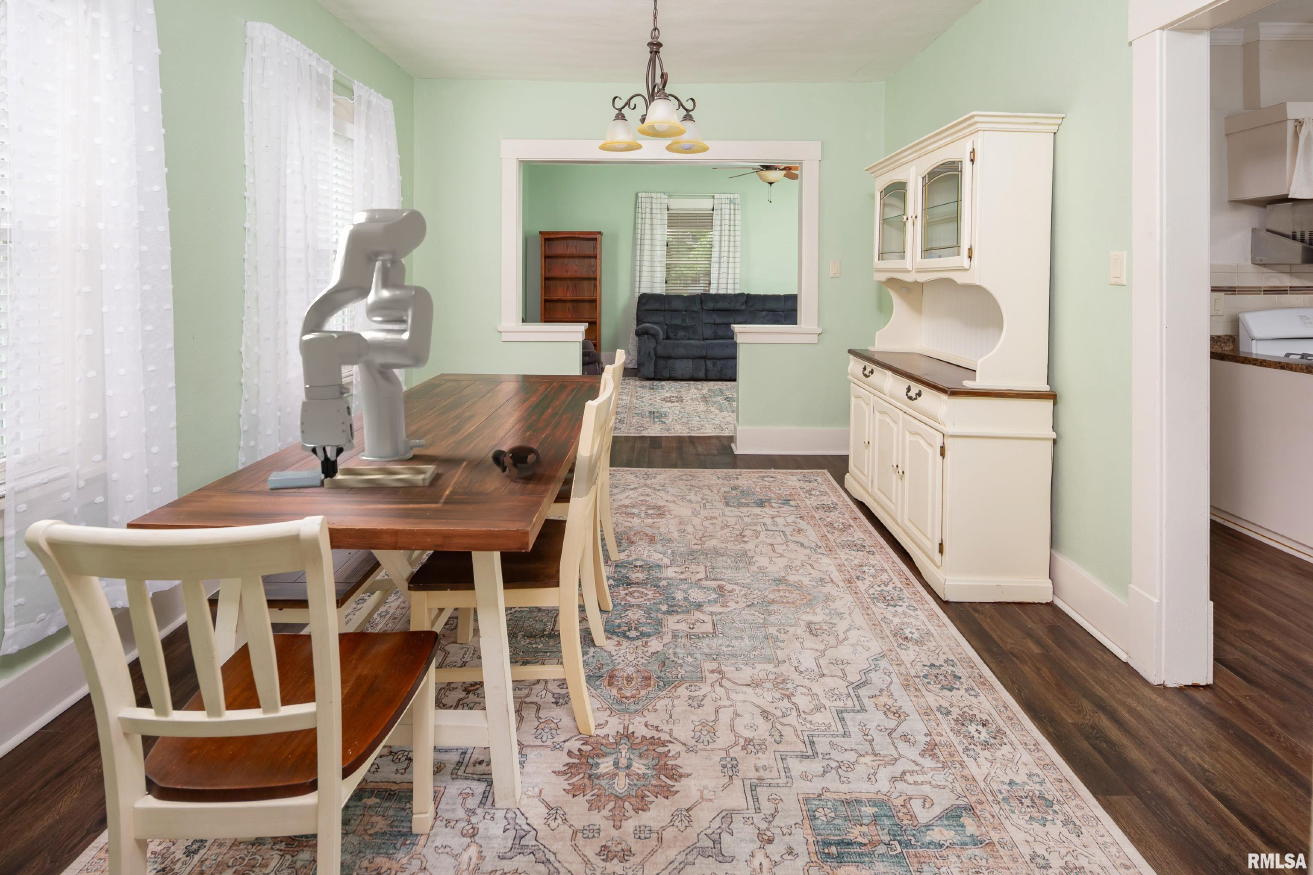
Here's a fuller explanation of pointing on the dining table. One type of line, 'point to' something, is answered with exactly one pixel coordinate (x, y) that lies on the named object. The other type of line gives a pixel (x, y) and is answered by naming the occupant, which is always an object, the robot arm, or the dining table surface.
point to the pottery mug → (517, 461)
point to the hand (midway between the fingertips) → (330, 477)
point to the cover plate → (295, 479)
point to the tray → (382, 476)
